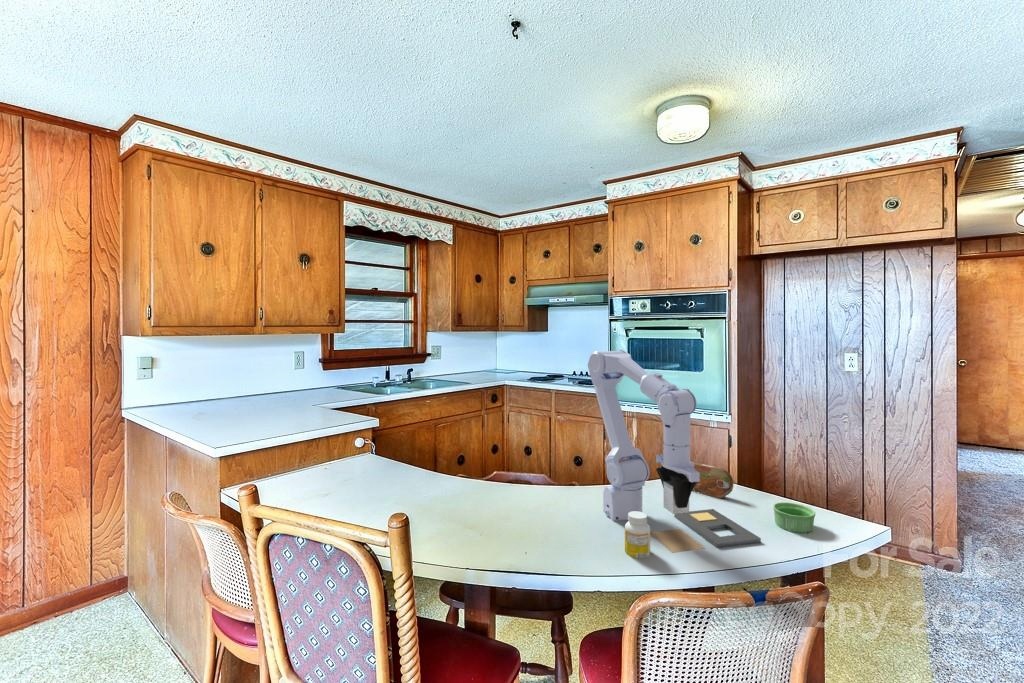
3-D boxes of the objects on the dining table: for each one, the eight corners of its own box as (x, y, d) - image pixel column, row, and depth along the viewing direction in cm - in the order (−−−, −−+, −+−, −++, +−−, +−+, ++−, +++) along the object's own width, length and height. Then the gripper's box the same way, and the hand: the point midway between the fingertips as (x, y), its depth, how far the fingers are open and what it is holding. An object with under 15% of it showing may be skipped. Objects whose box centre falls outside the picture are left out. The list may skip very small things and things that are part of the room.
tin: (680, 488, 145) (680, 460, 145) (685, 485, 147) (685, 458, 147) (730, 501, 134) (730, 472, 134) (734, 498, 136) (735, 469, 136)
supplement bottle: (643, 567, 99) (643, 522, 98) (620, 559, 102) (620, 515, 102) (654, 557, 103) (654, 513, 102) (631, 550, 106) (631, 507, 106)
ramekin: (824, 533, 114) (824, 515, 114) (790, 536, 113) (791, 517, 112) (796, 517, 123) (796, 501, 123) (764, 520, 121) (765, 503, 121)
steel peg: (672, 513, 105) (673, 487, 105) (663, 506, 109) (663, 481, 109) (689, 512, 106) (689, 485, 105) (679, 505, 110) (679, 479, 109)
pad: (671, 559, 102) (672, 552, 102) (648, 538, 112) (648, 532, 112) (705, 555, 104) (705, 548, 103) (679, 535, 113) (679, 528, 113)
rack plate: (716, 554, 104) (717, 542, 103) (674, 522, 120) (674, 512, 120) (760, 549, 106) (760, 537, 106) (713, 518, 122) (713, 508, 122)
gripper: (712, 450, 100) (712, 514, 101) (675, 435, 115) (674, 490, 115) (682, 453, 99) (682, 517, 99) (648, 436, 113) (648, 493, 114)
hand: (676, 503), depth 107 cm, fingers closed on steel peg, 4 cm apart
